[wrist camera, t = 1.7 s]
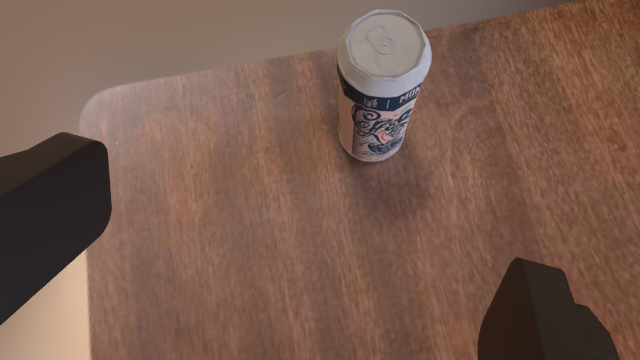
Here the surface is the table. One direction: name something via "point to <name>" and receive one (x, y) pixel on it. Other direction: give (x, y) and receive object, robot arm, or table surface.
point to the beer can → (379, 82)
